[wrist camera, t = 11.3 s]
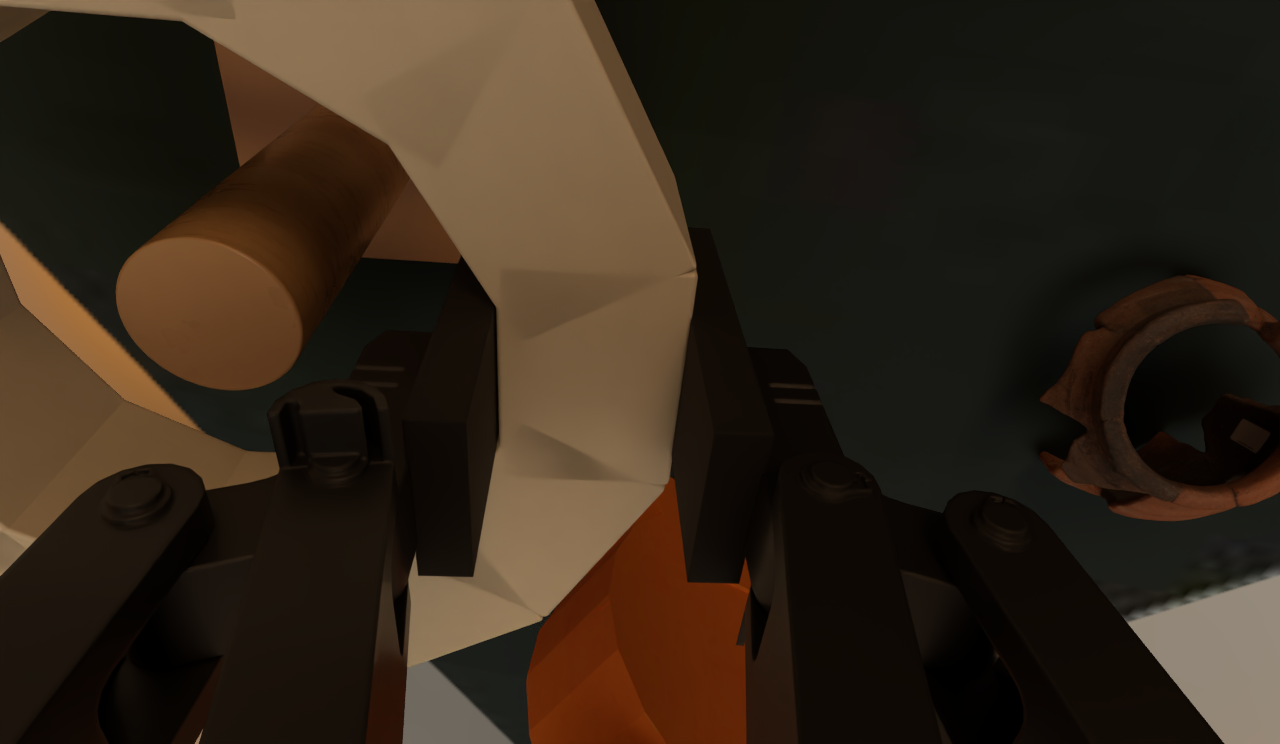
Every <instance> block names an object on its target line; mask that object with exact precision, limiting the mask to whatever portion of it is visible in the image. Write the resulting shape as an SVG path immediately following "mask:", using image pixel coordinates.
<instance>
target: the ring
mask: <svg viewBox="0 0 1280 744" xmlns="http://www.w3.org/2000/svg"><path fill="white" fill-rule="evenodd" d="M49 11H64V12H76V13H88V14H100V15H112V16H124V17H137V18H149V19H161V20H173V21H183V22H184V23H186V24H188V25H189V26H191V27H193V28H194V29H196V30H198V31H199V32H201V33H203V34H204V35H206V36H208V37H209V38H211V39H213V40H214V41H216V42H218V43H219V44H221V45H223V46H224V47H226V48H228V49H229V50H231V51H233V52H234V53H236V54H238V55H239V56H241V57H243V58H244V59H246V60H248V61H249V62H251V63H253V64H254V65H256V66H258V67H259V68H261V69H263V70H264V71H266V72H268V73H269V74H271V75H273V76H274V77H276V78H278V79H279V80H281V81H283V82H284V83H286V84H288V85H289V86H291V87H293V88H294V89H296V90H298V91H299V92H301V93H303V94H304V95H306V96H308V97H309V98H311V99H313V100H314V101H316V102H318V103H319V104H321V105H323V106H324V107H326V108H328V109H329V110H331V111H333V112H334V113H336V114H338V115H339V116H341V117H343V118H344V119H346V120H348V121H349V122H351V123H353V124H354V125H356V126H358V127H359V128H361V129H363V130H364V131H366V132H368V133H369V134H371V135H373V136H374V137H376V138H378V139H379V140H381V141H383V142H384V143H386V144H388V145H389V147H390V148H391V150H392V151H393V153H394V154H395V156H396V157H397V159H398V160H399V162H400V163H401V165H402V166H403V168H404V169H405V171H406V172H407V174H408V175H409V177H410V178H411V180H412V181H413V183H414V184H415V186H416V187H417V189H418V190H419V192H420V193H421V195H422V196H423V198H424V199H425V201H426V202H427V204H428V205H429V207H430V208H431V210H432V211H433V213H434V214H435V216H436V217H437V219H438V220H439V222H440V223H441V225H442V226H443V228H444V230H445V231H446V233H447V234H448V236H449V237H450V239H451V240H452V242H453V243H454V245H455V246H456V248H457V249H458V251H459V252H460V254H461V255H462V257H463V258H464V260H465V261H466V263H467V264H468V266H469V267H470V269H471V270H472V272H473V273H474V275H475V276H476V278H477V279H478V281H479V282H480V284H481V285H482V287H483V288H484V290H485V291H486V293H487V294H488V296H489V297H490V299H491V300H492V302H493V303H494V305H495V306H496V333H497V376H498V418H499V436H498V442H497V447H496V453H495V458H494V464H493V470H492V475H491V481H490V486H489V492H488V498H487V503H486V509H485V514H484V520H483V526H482V531H481V537H480V542H479V548H478V554H477V559H476V565H475V570H474V576H473V577H446V576H418V570H417V561H416V553H415V556H414V560H413V564H412V567H411V571H410V575H409V578H408V581H409V590H410V598H411V613H410V629H409V645H408V661H407V668H409V667H412V666H414V665H417V664H420V663H423V662H426V661H429V660H431V659H434V658H437V657H440V656H443V655H446V654H448V653H451V652H454V651H457V650H460V649H463V648H466V647H468V646H471V645H474V644H477V643H480V642H483V641H485V640H488V639H491V638H494V637H497V636H500V635H502V634H505V633H508V632H511V631H514V630H517V629H520V628H522V627H525V626H528V625H531V624H534V623H537V622H539V621H541V620H542V618H543V616H548V615H549V614H550V612H551V611H552V610H553V609H554V608H555V607H556V606H557V605H558V604H559V603H560V602H561V601H562V600H563V598H564V597H565V596H566V595H567V594H568V593H569V592H570V591H571V590H572V589H573V588H574V587H575V586H576V585H577V583H578V582H579V581H580V580H581V579H582V578H583V577H584V576H585V575H586V574H587V573H588V572H589V571H590V569H591V568H592V567H593V566H594V565H595V564H596V563H597V562H598V561H599V560H600V559H601V558H602V557H603V556H604V554H605V553H606V552H607V551H608V550H609V549H610V548H611V547H612V546H613V545H614V544H615V543H616V542H617V540H618V539H619V538H620V537H621V536H622V535H623V534H624V533H625V532H626V531H627V530H628V529H629V528H630V527H631V525H632V524H633V523H634V522H635V521H636V520H637V519H638V518H639V517H640V516H641V515H642V514H643V513H644V511H645V510H646V509H647V508H648V507H649V506H650V505H651V504H652V503H653V502H654V501H655V500H656V499H657V498H658V496H659V495H660V494H661V493H662V492H663V491H664V488H665V484H667V483H668V481H669V478H670V470H671V463H672V455H671V454H672V447H673V441H674V434H675V427H676V420H677V413H678V406H679V399H680V393H681V386H682V379H683V372H684V365H685V358H686V351H687V345H688V338H689V331H690V324H691V319H692V315H693V308H694V301H695V294H696V287H697V280H698V275H697V271H696V260H695V256H694V252H693V248H692V244H691V240H690V236H689V232H688V228H687V224H686V220H685V216H684V212H683V208H682V204H681V200H680V196H679V192H678V188H677V184H676V180H675V176H674V174H673V172H672V170H671V167H670V165H669V163H668V161H667V159H666V156H665V154H664V152H663V150H662V148H661V145H660V143H659V141H658V139H657V137H656V134H655V132H654V130H653V128H652V126H651V123H650V121H649V119H648V117H647V115H646V112H645V110H644V108H643V106H642V104H641V101H640V99H639V97H638V95H637V93H636V90H635V88H634V86H633V84H632V82H631V79H630V77H629V75H628V73H627V71H626V68H625V66H624V64H623V62H622V60H621V57H620V55H619V53H618V51H617V49H616V46H615V44H614V42H613V40H612V38H611V35H610V33H609V31H608V29H607V27H606V24H605V22H604V20H603V18H602V16H601V13H600V11H599V9H598V7H597V5H596V2H595V0H0V42H2V41H3V40H5V39H6V38H8V37H10V36H11V35H13V34H14V33H16V32H17V31H19V30H21V29H22V28H24V27H25V26H27V25H29V24H30V23H32V22H33V21H35V20H36V19H38V18H40V17H41V16H43V15H44V14H46V13H47V12H49ZM168 463H172V464H176V465H180V466H184V467H188V468H191V469H192V470H193V471H194V472H196V473H197V474H198V475H199V476H200V477H202V479H203V483H204V486H205V489H206V490H210V489H216V488H221V487H227V486H232V485H238V484H244V483H249V482H253V481H257V480H261V479H265V478H269V477H271V476H274V475H276V474H278V472H279V464H278V460H277V456H276V452H254V451H246V450H243V449H241V448H238V447H236V446H234V445H231V444H229V443H226V442H224V441H222V440H219V439H217V438H214V437H212V436H210V435H207V434H205V433H203V432H200V431H198V430H195V429H193V428H190V427H188V426H186V425H183V424H181V423H179V422H176V421H174V420H171V419H169V418H167V417H164V416H162V415H159V414H157V413H155V412H152V411H150V410H148V409H145V408H143V407H140V406H138V405H135V404H133V403H131V402H128V401H126V400H124V399H123V398H122V397H121V396H120V395H119V394H118V393H117V392H116V391H115V390H113V389H112V388H111V387H110V386H109V385H108V384H107V383H106V382H105V381H104V380H103V379H102V378H100V377H99V376H98V375H97V374H96V373H95V372H93V370H92V369H91V368H90V367H89V366H87V365H86V364H85V363H84V362H83V361H82V360H81V359H80V358H79V357H77V355H76V354H75V353H74V352H72V351H71V350H70V349H69V348H68V347H67V346H66V345H65V344H64V343H62V341H61V340H59V339H58V338H57V337H56V336H55V335H54V334H53V333H52V332H51V331H50V330H49V329H48V328H47V327H46V326H44V325H43V324H42V323H41V322H40V321H39V320H38V319H37V318H36V317H35V316H34V315H33V314H31V313H30V312H29V311H28V310H27V309H26V308H25V307H24V306H23V305H22V304H21V303H20V301H19V299H18V296H17V294H16V292H15V289H14V287H13V284H12V282H11V279H10V277H9V275H8V272H7V270H6V268H5V265H4V263H3V261H2V258H1V256H0V576H1V575H2V574H3V573H4V572H5V571H6V570H7V569H8V568H9V567H10V566H11V565H12V564H13V563H14V562H15V561H16V560H17V558H18V557H19V556H20V555H21V554H22V553H23V552H24V551H25V550H26V549H27V548H28V547H29V546H30V545H31V544H32V543H33V542H34V541H35V540H36V539H37V538H38V537H39V536H40V535H41V534H42V533H43V532H44V531H45V530H46V529H47V528H48V527H49V526H50V525H51V524H52V523H53V522H54V521H55V520H56V519H57V518H58V517H59V516H60V515H61V513H62V512H63V511H64V510H65V509H66V508H67V507H68V506H69V505H70V504H71V503H72V502H73V501H74V500H75V499H76V498H77V497H78V496H79V495H81V494H82V493H83V492H85V491H86V490H87V489H88V488H90V487H91V486H92V485H94V484H95V483H96V482H98V481H100V480H102V479H104V478H106V477H108V476H111V475H113V474H115V473H117V472H119V471H121V470H125V469H129V468H134V467H138V466H142V465H146V464H168Z"/></svg>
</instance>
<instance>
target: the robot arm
mask: <svg viewBox="0 0 1280 744" xmlns="http://www.w3.org/2000/svg"><path fill="white" fill-rule="evenodd" d="M687 228H688V232H689V236H690V240H691V244H692V248H693V252H694V256H695V260H696V271H697V275H698V280H697V287H696V294H695V301H694V308H693V315H692V319H691V324H690V331H689V338H688V345H687V351H686V358H685V365H684V372H683V379H682V386H681V393H680V399H679V406H678V413H677V420H676V427H675V434H674V441H673V447H672V454H671V455H672V463H673V471H674V479H675V487H676V495H677V503H678V511H679V519H680V527H681V535H682V543H683V551H684V559H685V567H686V575H687V582H691V583H730V584H739V583H740V578H741V574H742V570H743V566H744V562H745V558H746V562H747V567H748V571H749V576H750V581H751V586H750V590H749V594H748V598H747V602H746V606H745V610H744V614H743V618H742V622H741V626H740V630H739V634H738V638H737V642H736V645H740V646H744V643H745V668H746V743H747V744H1224V743H1223V742H1222V740H1221V739H1220V738H1219V737H1218V735H1217V734H1216V733H1215V732H1214V731H1213V729H1212V728H1211V727H1210V725H1209V724H1208V723H1207V722H1206V720H1205V719H1204V718H1203V717H1202V715H1201V714H1200V713H1199V712H1198V711H1197V709H1196V708H1195V707H1194V705H1193V704H1192V703H1191V702H1190V701H1189V699H1188V698H1187V697H1186V696H1185V694H1184V693H1183V692H1182V691H1181V689H1180V688H1179V687H1178V686H1177V684H1176V683H1175V682H1174V681H1173V679H1172V678H1171V677H1170V676H1169V675H1168V673H1167V672H1166V671H1165V669H1164V668H1163V667H1162V666H1161V664H1160V663H1159V662H1158V661H1157V659H1156V658H1155V657H1154V656H1153V654H1152V653H1151V652H1150V651H1149V650H1148V648H1147V647H1146V646H1145V645H1144V644H1143V642H1142V641H1141V640H1140V638H1139V637H1138V636H1137V635H1136V633H1135V632H1134V631H1133V630H1132V628H1131V627H1130V626H1129V625H1128V623H1127V622H1126V621H1125V620H1124V618H1123V617H1122V616H1121V615H1120V613H1119V612H1118V611H1117V610H1116V608H1115V607H1114V606H1113V605H1112V604H1111V602H1110V601H1109V600H1108V599H1107V597H1106V596H1105V595H1104V594H1103V592H1102V591H1101V590H1100V589H1099V587H1098V586H1097V585H1096V584H1095V582H1094V581H1093V580H1092V579H1091V577H1090V576H1089V575H1088V574H1087V572H1086V571H1085V570H1084V569H1083V567H1082V566H1081V565H1080V564H1079V562H1078V561H1077V560H1076V559H1075V558H1074V556H1073V555H1072V554H1071V553H1070V551H1069V550H1068V549H1067V548H1066V546H1065V545H1064V544H1063V543H1062V541H1061V540H1060V539H1059V538H1058V536H1057V535H1056V534H1055V533H1054V531H1053V530H1052V529H1051V528H1050V526H1049V525H1048V524H1047V523H1046V522H1045V521H1043V520H1042V519H1041V518H1040V517H1039V516H1038V515H1037V514H1036V513H1035V512H1034V511H1032V510H1031V509H1029V508H1027V507H1026V506H1024V505H1022V504H1021V503H1019V502H1017V501H1015V500H1013V499H1011V498H1008V497H1005V496H1002V495H999V494H996V493H992V492H983V491H975V490H973V491H968V492H963V493H958V494H957V495H956V496H954V497H953V498H952V499H951V500H949V501H948V503H947V505H946V507H945V510H944V512H943V513H940V512H936V511H932V510H929V509H925V508H921V507H917V506H913V505H910V504H906V503H903V502H900V501H897V500H894V499H891V498H888V497H886V496H884V495H882V493H881V489H880V488H879V486H878V484H877V482H876V480H875V478H874V476H873V475H871V474H870V473H869V472H868V471H867V470H866V469H865V468H864V467H863V466H862V465H860V464H858V463H856V462H854V461H852V460H851V459H849V458H847V457H845V456H844V455H843V452H842V450H841V448H840V445H839V443H838V440H837V438H836V436H835V433H834V431H833V429H832V426H831V424H830V422H829V419H828V417H827V414H826V412H825V410H824V407H823V405H821V400H820V398H819V396H818V393H817V391H816V389H814V384H813V381H812V379H811V377H810V374H809V372H808V370H807V367H806V366H805V365H804V364H803V363H802V362H801V361H799V360H798V359H797V358H796V357H795V356H794V355H793V354H792V353H791V352H790V351H788V350H787V349H769V348H751V347H747V345H746V342H745V339H744V336H743V333H742V330H741V326H740V323H739V320H738V317H737V314H736V311H735V307H734V304H733V301H732V298H731V295H730V291H729V288H728V285H727V282H726V279H725V276H724V272H723V269H722V266H721V263H720V260H719V257H718V253H717V250H716V247H715V244H714V241H713V237H712V234H711V231H710V229H703V228H689V227H687ZM267 416H268V421H269V425H270V429H271V434H272V438H273V443H274V447H275V451H276V456H277V460H278V464H279V472H278V474H276V475H274V476H271V477H269V478H265V479H261V480H257V481H253V482H249V483H244V484H238V485H232V486H227V487H221V488H216V489H210V490H206V489H205V486H204V483H203V479H202V477H200V476H199V475H198V474H197V473H196V472H194V471H193V470H192V469H191V468H188V467H184V466H180V465H176V464H172V463H168V464H146V465H142V466H138V467H134V468H129V469H125V470H121V471H119V472H117V473H115V474H113V475H111V476H108V477H106V478H104V479H102V480H100V481H98V482H96V483H95V484H94V485H92V486H91V487H90V488H88V489H87V490H86V491H85V492H83V493H82V494H81V495H79V496H78V497H77V498H76V499H75V500H74V501H73V502H72V503H71V504H70V505H69V506H68V507H67V508H66V509H65V510H64V511H63V512H62V513H61V515H60V516H59V517H58V518H57V519H56V520H55V521H54V522H53V523H52V524H51V525H50V526H49V527H48V528H47V529H46V530H45V531H44V532H43V533H42V534H41V535H40V536H39V537H38V538H37V539H36V540H35V541H34V542H33V543H32V544H31V545H30V546H29V547H28V548H27V549H26V550H25V551H24V552H23V553H22V554H21V555H20V556H19V557H18V558H17V560H16V561H15V562H14V563H13V564H12V565H11V566H10V567H9V568H8V569H7V570H6V571H5V572H4V573H3V574H2V575H1V576H0V744H195V742H196V740H197V738H198V737H199V735H200V733H201V731H202V730H203V731H202V735H201V738H200V742H199V744H402V740H403V725H404V709H405V692H406V677H407V661H408V645H409V629H410V613H411V598H410V590H409V581H408V578H409V575H410V571H411V567H412V564H413V560H414V556H415V553H416V561H417V570H418V576H446V577H473V576H474V570H475V565H476V559H477V554H478V548H479V542H480V537H481V531H482V526H483V520H484V514H485V509H486V503H487V498H488V492H489V486H490V481H491V475H492V470H493V464H494V458H495V453H496V447H497V442H498V436H499V418H498V376H497V333H496V306H495V305H494V303H493V302H492V300H491V299H490V297H489V296H488V294H487V293H486V291H485V290H484V288H483V287H482V285H481V284H480V282H479V281H478V279H477V278H476V276H475V275H474V273H473V272H472V270H471V269H470V267H469V266H468V264H467V263H466V261H465V260H464V258H463V257H462V255H461V257H460V260H459V262H458V265H457V268H456V271H455V273H454V276H453V279H452V282H451V284H450V287H449V290H448V293H447V295H446V298H445V301H444V304H443V306H442V309H441V312H440V315H439V317H438V320H437V323H436V326H435V328H434V331H433V333H428V332H409V331H390V330H386V331H385V332H383V333H382V334H381V335H379V336H378V337H377V338H375V339H374V340H373V341H371V342H370V343H369V344H367V345H366V346H365V347H364V349H363V351H362V353H361V355H360V357H359V359H358V361H357V363H356V365H355V369H353V371H352V373H351V375H350V377H349V379H348V380H343V379H332V380H325V381H318V382H312V383H309V384H307V385H304V386H301V387H298V388H295V389H292V390H291V391H289V392H288V393H286V394H285V395H283V396H282V397H280V398H279V399H277V400H276V401H275V403H274V404H273V406H272V407H271V408H270V410H269V411H268V413H267Z"/></svg>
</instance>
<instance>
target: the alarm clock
mask: <svg viewBox="0 0 1280 744" xmlns="http://www.w3.org/2000/svg"><path fill="white" fill-rule="evenodd" d="M750 586H751V581H750V576H749V571H748V567H747V562H746V558H745V562H744V566H743V570H742V574H741V578H740V583H739V584H730V583H691V582H687V575H686V567H685V559H684V551H683V543H682V535H681V527H680V519H679V511H678V503H677V495H676V487H675V479H673V478H671V477H670V478H669V481H668V483H667V484H665V488H664V491H663V492H662V493H661V494H660V495H659V496H658V498H657V499H656V500H655V501H654V502H653V503H652V504H651V505H650V506H649V507H648V508H647V509H646V510H645V511H644V513H643V514H642V515H641V516H640V517H639V518H638V519H637V520H636V521H635V522H634V523H633V524H632V525H631V527H630V528H629V529H628V530H627V531H626V532H625V533H624V534H623V535H622V536H621V537H620V538H619V539H618V540H617V542H616V543H615V544H614V545H613V546H612V547H611V548H610V549H609V550H608V551H607V552H606V553H605V554H604V556H603V557H602V558H601V559H600V560H599V561H598V562H597V563H596V564H595V565H594V566H593V567H592V568H591V569H590V571H589V572H588V573H587V574H586V576H585V577H584V578H583V579H582V581H581V582H580V583H579V584H578V585H577V586H576V587H575V588H574V589H573V590H572V591H571V592H570V593H569V594H568V595H567V596H566V597H565V598H564V599H563V600H562V601H561V603H560V604H559V605H558V607H557V608H556V609H555V610H554V612H553V613H552V614H551V616H550V617H549V618H548V620H547V621H546V622H545V624H544V625H543V626H542V628H541V629H540V630H539V632H538V636H537V640H536V644H535V648H534V652H533V655H532V659H531V663H530V667H529V671H528V675H527V681H526V685H527V702H528V720H529V736H530V739H531V742H532V744H747V743H746V668H745V643H744V646H740V645H736V642H737V638H738V634H739V630H740V626H741V622H742V618H743V614H744V610H745V606H746V602H747V598H748V594H749V590H750Z"/></svg>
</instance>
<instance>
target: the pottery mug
mask: <svg viewBox="0 0 1280 744" xmlns="http://www.w3.org/2000/svg"><path fill="white" fill-rule="evenodd" d="M1094 324H1095V327H1096V329H1097V330H1093V331H1088V332H1086V333H1084V334H1083V335H1082V336H1081V338H1080V340H1079V341H1078V343H1077V345H1076V346H1075V349H1074V352H1073V356H1072V358H1071V360H1070V362H1069V364H1068V366H1067V368H1066V370H1065V372H1064V373H1063V375H1062V376H1061V378H1060V379H1059V380H1058V381H1057V383H1056V384H1055V385H1053V386H1052V387H1050V388H1049V389H1048V390H1047V391H1046V392H1045V393H1044V394H1043V395H1042V396H1041V397H1040V401H1041V402H1043V403H1046V404H1049V405H1050V406H1052V407H1053V408H1055V409H1057V410H1058V411H1060V412H1061V413H1063V414H1065V415H1067V416H1069V417H1071V418H1073V419H1074V420H1076V421H1078V422H1080V423H1081V424H1082V425H1083V426H1085V427H1086V428H1087V432H1086V433H1085V434H1083V435H1081V436H1079V437H1078V438H1076V439H1075V440H1074V441H1073V443H1072V445H1071V446H1070V449H1069V453H1068V457H1067V458H1066V460H1062V459H1060V458H1057V457H1055V456H1053V455H1051V454H1050V453H1048V452H1041V453H1040V455H1039V458H1040V459H1041V460H1042V461H1043V463H1044V465H1045V466H1046V467H1047V469H1048V471H1049V472H1050V473H1051V474H1053V475H1054V476H1055V477H1057V478H1058V479H1059V480H1061V481H1063V482H1064V483H1066V484H1068V485H1071V486H1074V487H1076V488H1079V489H1081V490H1084V491H1086V492H1088V493H1091V494H1094V495H1098V496H1101V497H1102V498H1103V499H1106V501H1107V503H1108V504H1109V505H1108V507H1109V509H1110V510H1111V511H1113V512H1115V513H1118V514H1121V515H1124V516H1128V517H1131V518H1138V519H1145V520H1156V521H1181V520H1188V519H1195V518H1199V517H1204V516H1208V515H1212V514H1215V513H1219V512H1222V511H1225V510H1228V509H1231V508H1234V507H1235V506H1248V505H1251V504H1255V503H1257V502H1260V501H1262V500H1264V499H1267V498H1269V497H1272V496H1273V495H1275V494H1277V493H1278V492H1280V406H1278V405H1274V406H1266V405H1265V404H1261V403H1258V402H1256V401H1253V400H1251V399H1249V398H1243V399H1242V398H1239V397H1237V396H1235V395H1232V394H1224V395H1222V396H1221V397H1220V398H1219V399H1218V400H1217V402H1216V404H1215V406H1214V407H1213V409H1212V410H1211V411H1210V412H1209V413H1208V414H1207V415H1206V416H1205V417H1204V418H1203V419H1202V427H1203V430H1204V441H1205V447H1206V451H1205V453H1203V452H1200V451H1198V450H1196V449H1195V448H1193V447H1192V446H1190V445H1188V444H1185V443H1180V442H1178V441H1177V440H1176V439H1174V438H1173V437H1172V436H1170V435H1169V434H1167V433H1165V432H1158V433H1157V434H1156V435H1155V436H1154V437H1153V438H1152V439H1151V440H1150V441H1149V443H1148V444H1146V445H1145V446H1143V447H1142V448H1141V449H1140V450H1138V451H1137V452H1136V451H1135V449H1134V447H1133V445H1132V444H1131V441H1130V439H1129V437H1128V434H1127V430H1126V427H1125V425H1124V420H1123V417H1124V403H1125V400H1126V395H1127V390H1128V387H1129V383H1130V381H1131V378H1132V376H1133V375H1134V372H1135V370H1136V368H1137V366H1138V365H1139V364H1140V363H1141V361H1142V360H1143V359H1144V358H1145V357H1146V356H1147V354H1148V353H1149V352H1150V351H1152V350H1153V349H1154V348H1155V347H1156V346H1157V345H1159V344H1161V343H1162V342H1164V341H1165V340H1166V339H1168V338H1170V337H1171V336H1173V335H1175V334H1177V333H1179V332H1181V331H1184V330H1186V329H1189V328H1192V327H1196V326H1201V325H1208V324H1228V325H1246V326H1248V327H1250V328H1251V329H1253V330H1255V331H1256V332H1257V333H1258V334H1259V336H1260V337H1261V338H1262V339H1263V340H1264V341H1265V342H1266V343H1267V344H1268V345H1269V346H1270V347H1271V348H1272V349H1273V350H1274V351H1275V352H1276V353H1277V355H1278V356H1279V358H1280V321H1279V322H1278V321H1277V320H1276V319H1275V318H1274V317H1273V316H1271V315H1270V314H1269V313H1268V312H1266V311H1265V310H1263V309H1261V308H1259V307H1257V306H1256V304H1255V303H1254V302H1253V301H1252V300H1251V299H1250V298H1248V296H1247V295H1246V294H1245V293H1244V292H1242V291H1241V290H1239V289H1237V288H1234V287H1232V286H1229V285H1227V284H1224V283H1221V282H1217V281H1214V280H1210V279H1207V278H1203V277H1198V276H1193V275H1185V276H1180V275H1178V276H1174V277H1172V278H1168V279H1165V280H1162V281H1159V282H1157V283H1154V284H1152V285H1149V286H1147V287H1145V288H1143V289H1141V290H1138V291H1136V292H1134V293H1132V294H1130V295H1128V296H1126V297H1124V298H1122V299H1121V300H1120V301H1118V302H1117V303H1115V304H1114V305H1112V306H1111V307H1109V308H1108V309H1106V310H1104V311H1102V312H1101V313H1100V314H1099V315H1098V316H1097V317H1096V318H1095V320H1094Z"/></svg>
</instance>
